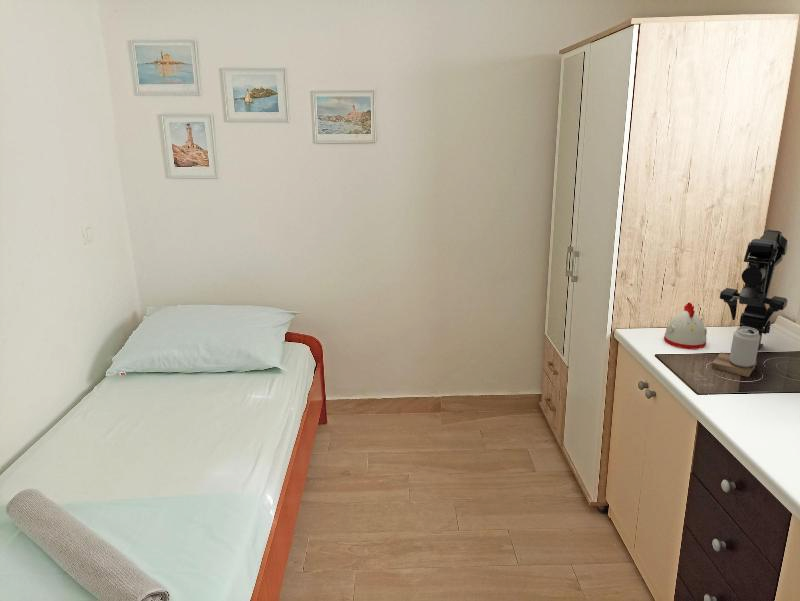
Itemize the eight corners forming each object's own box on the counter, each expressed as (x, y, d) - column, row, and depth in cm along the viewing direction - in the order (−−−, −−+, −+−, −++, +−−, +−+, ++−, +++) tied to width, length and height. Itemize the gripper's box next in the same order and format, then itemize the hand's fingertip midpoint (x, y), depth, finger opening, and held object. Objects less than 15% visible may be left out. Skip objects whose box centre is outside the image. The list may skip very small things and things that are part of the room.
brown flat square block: (719, 359, 207) (720, 352, 206) (755, 367, 200) (757, 360, 199) (711, 369, 199) (712, 362, 198) (748, 378, 192) (749, 371, 191)
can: (758, 368, 193) (765, 335, 188) (733, 368, 194) (739, 335, 189) (749, 357, 199) (755, 324, 195) (725, 357, 200) (730, 324, 196)
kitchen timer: (670, 348, 215) (675, 309, 210) (659, 334, 228) (664, 296, 223) (711, 349, 213) (717, 309, 208) (697, 335, 226) (703, 297, 221)
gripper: (717, 278, 197) (711, 323, 202) (783, 289, 185) (774, 336, 189) (728, 271, 204) (721, 314, 209) (791, 281, 192) (782, 327, 197)
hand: (748, 323), depth 201 cm, fingers open, 9 cm apart
